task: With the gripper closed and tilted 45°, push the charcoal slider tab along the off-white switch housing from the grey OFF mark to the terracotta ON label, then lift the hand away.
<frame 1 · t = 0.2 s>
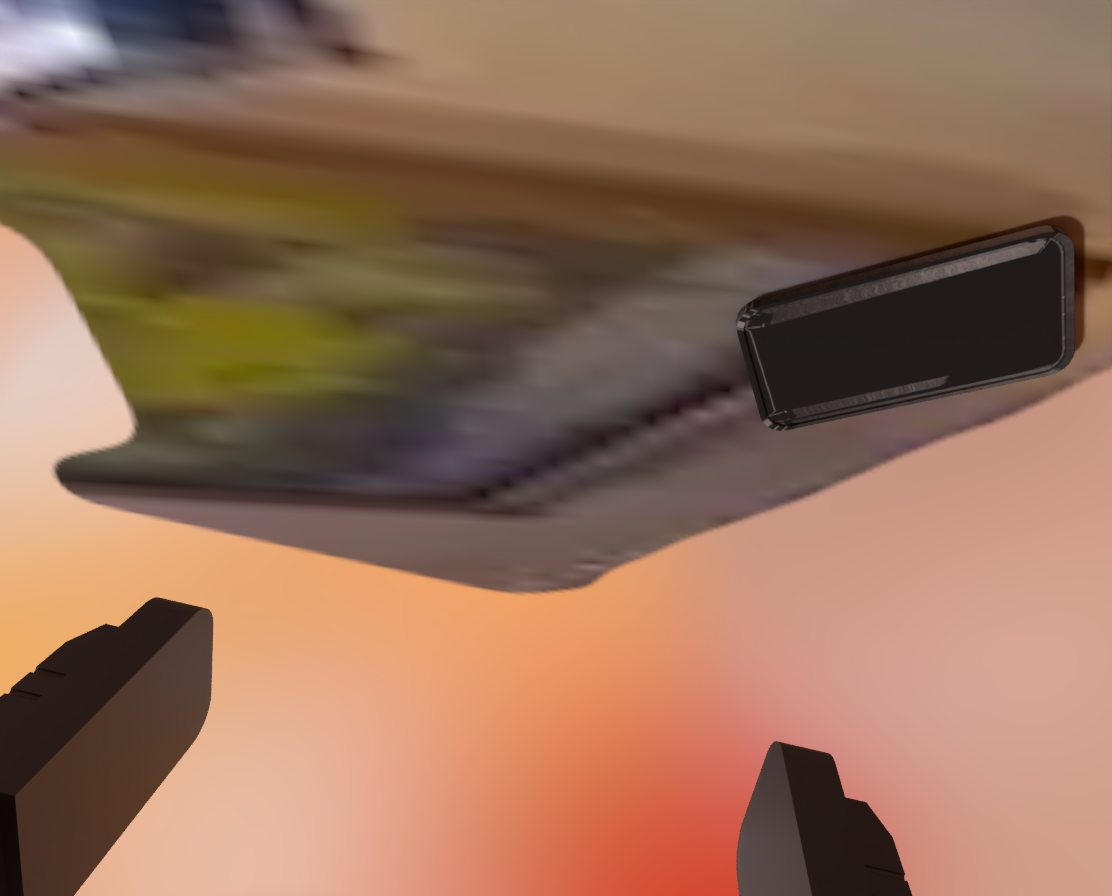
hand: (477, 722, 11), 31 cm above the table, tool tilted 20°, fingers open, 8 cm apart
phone: (897, 329, 41), on the table
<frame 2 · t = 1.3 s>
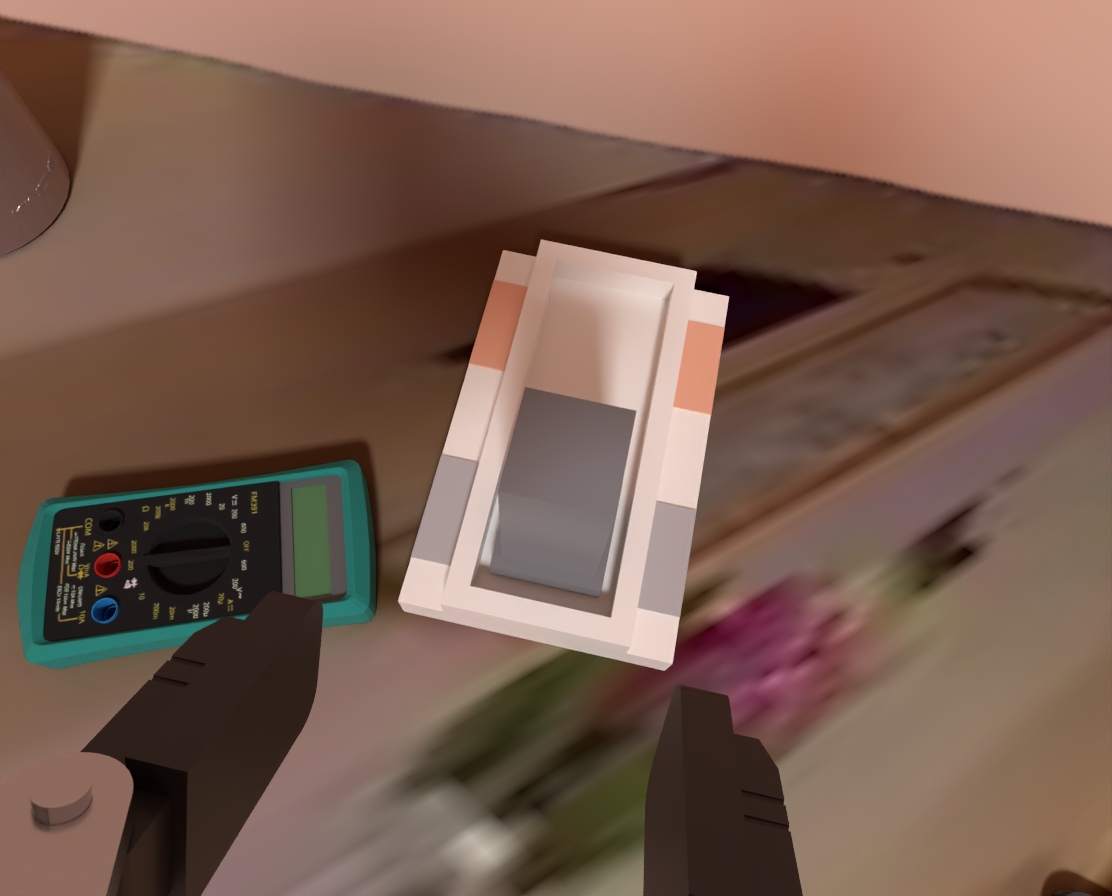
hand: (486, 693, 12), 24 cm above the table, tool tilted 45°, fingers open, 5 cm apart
switch housing: (575, 451, 40), on the table
slider tab: (562, 496, 32), point 7 cm above the table, slide at 0.0 cm
digital multimeter: (220, 569, 38), on the table
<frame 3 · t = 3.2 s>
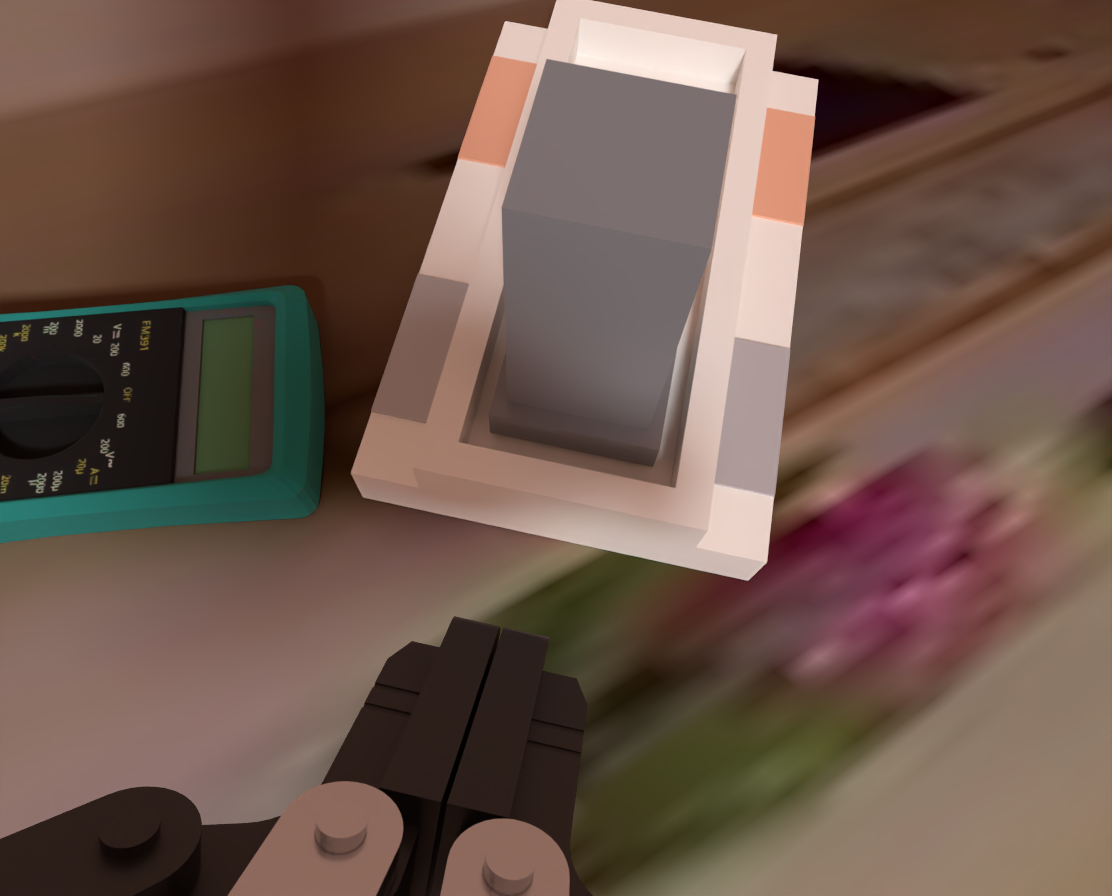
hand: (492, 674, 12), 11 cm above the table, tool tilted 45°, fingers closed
switch housing: (609, 285, 28), on the table
slider tab: (602, 285, 20), point 7 cm above the table, slide at 0.0 cm
digital multimeter: (100, 440, 26), on the table
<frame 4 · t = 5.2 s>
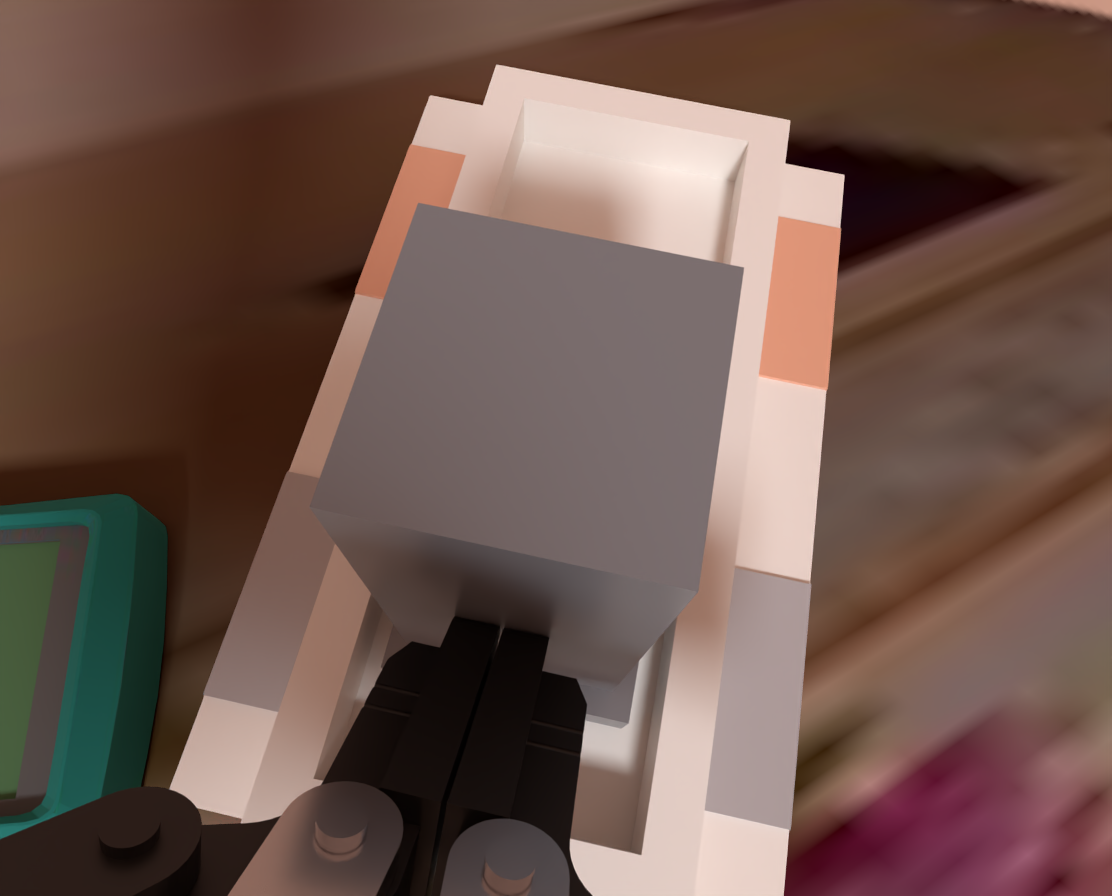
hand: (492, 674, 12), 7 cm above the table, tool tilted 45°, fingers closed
switch housing: (563, 462, 21), on the table
slider tab: (536, 513, 13), point 7 cm above the table, slide at 1.1 cm, touching gripper
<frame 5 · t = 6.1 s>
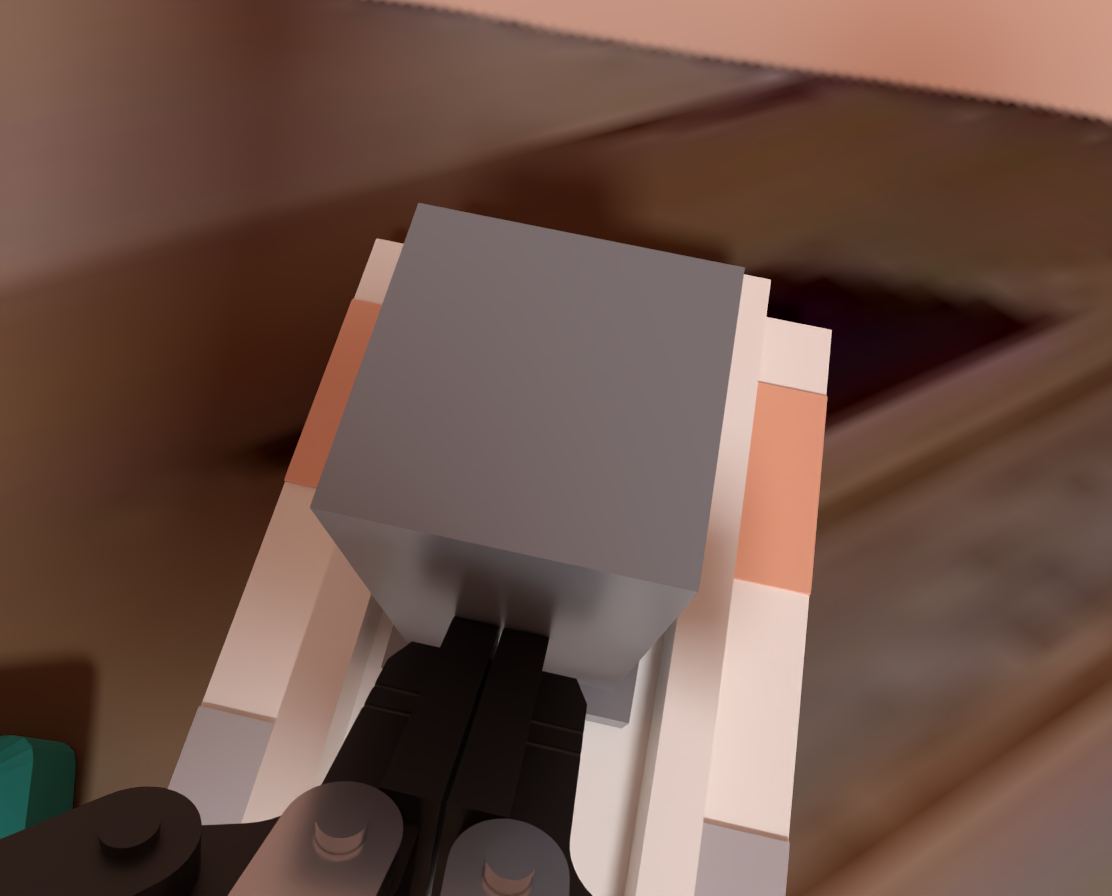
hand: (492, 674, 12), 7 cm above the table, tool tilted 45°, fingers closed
switch housing: (518, 663, 19), on the table
slider tab: (536, 513, 13), point 7 cm above the table, slide at 6.4 cm, touching gripper
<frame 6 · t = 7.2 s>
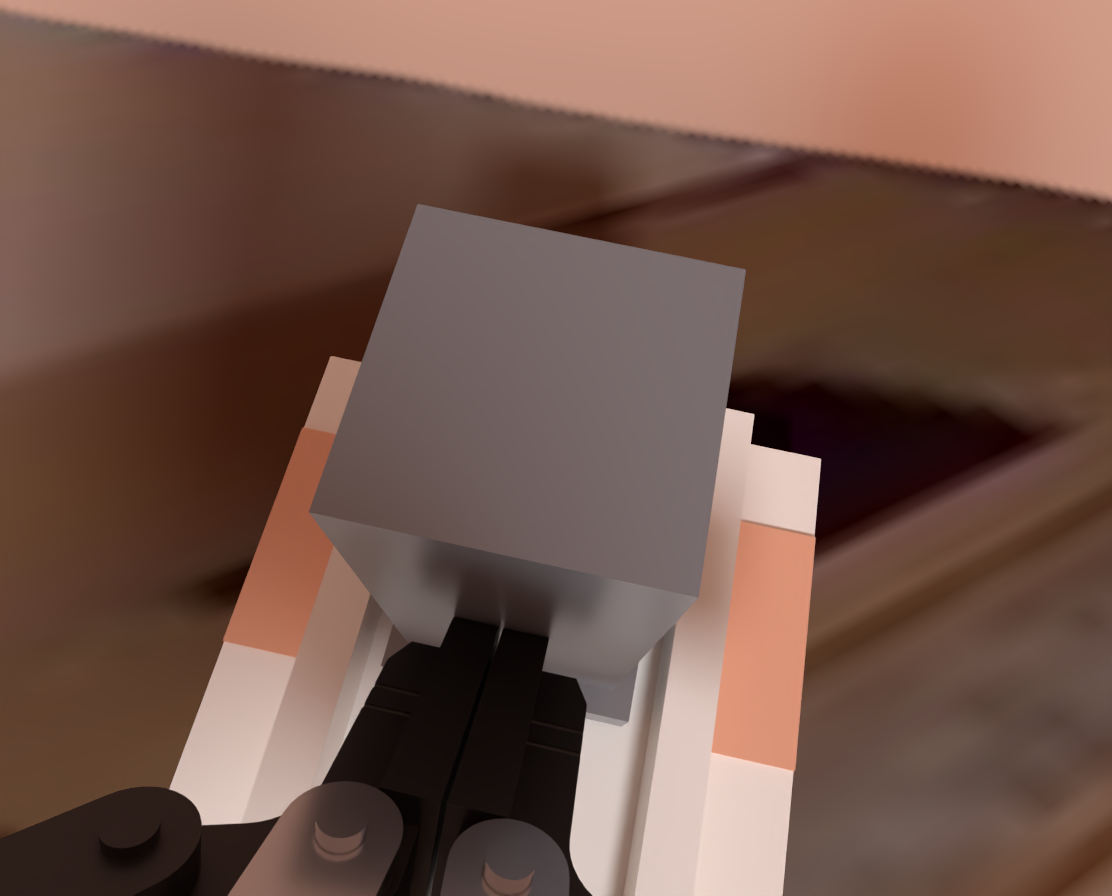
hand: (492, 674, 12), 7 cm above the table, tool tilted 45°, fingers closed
switch housing: (478, 832, 17), on the table
slider tab: (536, 513, 13), point 7 cm above the table, slide at 10.1 cm, touching gripper
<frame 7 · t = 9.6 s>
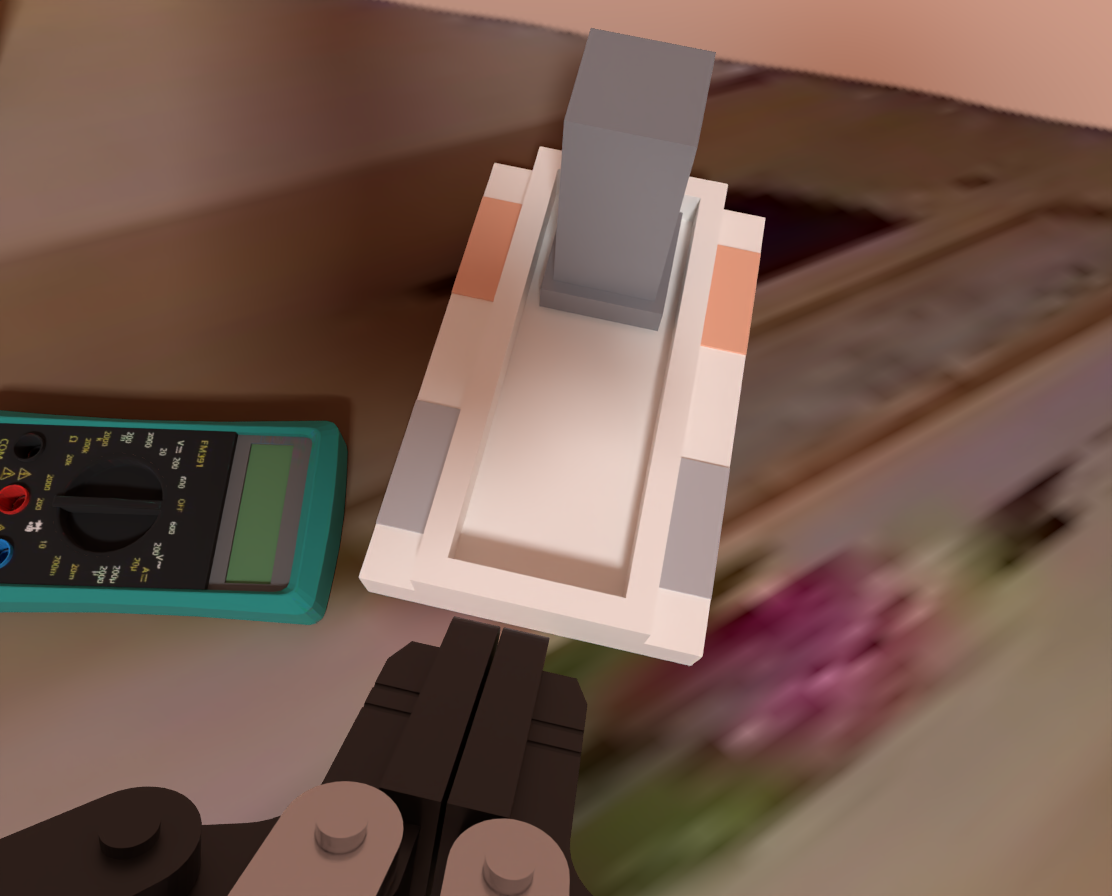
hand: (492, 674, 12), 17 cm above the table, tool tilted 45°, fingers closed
switch housing: (581, 400, 33), on the table
slider tab: (623, 190, 29), point 7 cm above the table, slide at 10.1 cm
digital multimeter: (154, 527, 31), on the table
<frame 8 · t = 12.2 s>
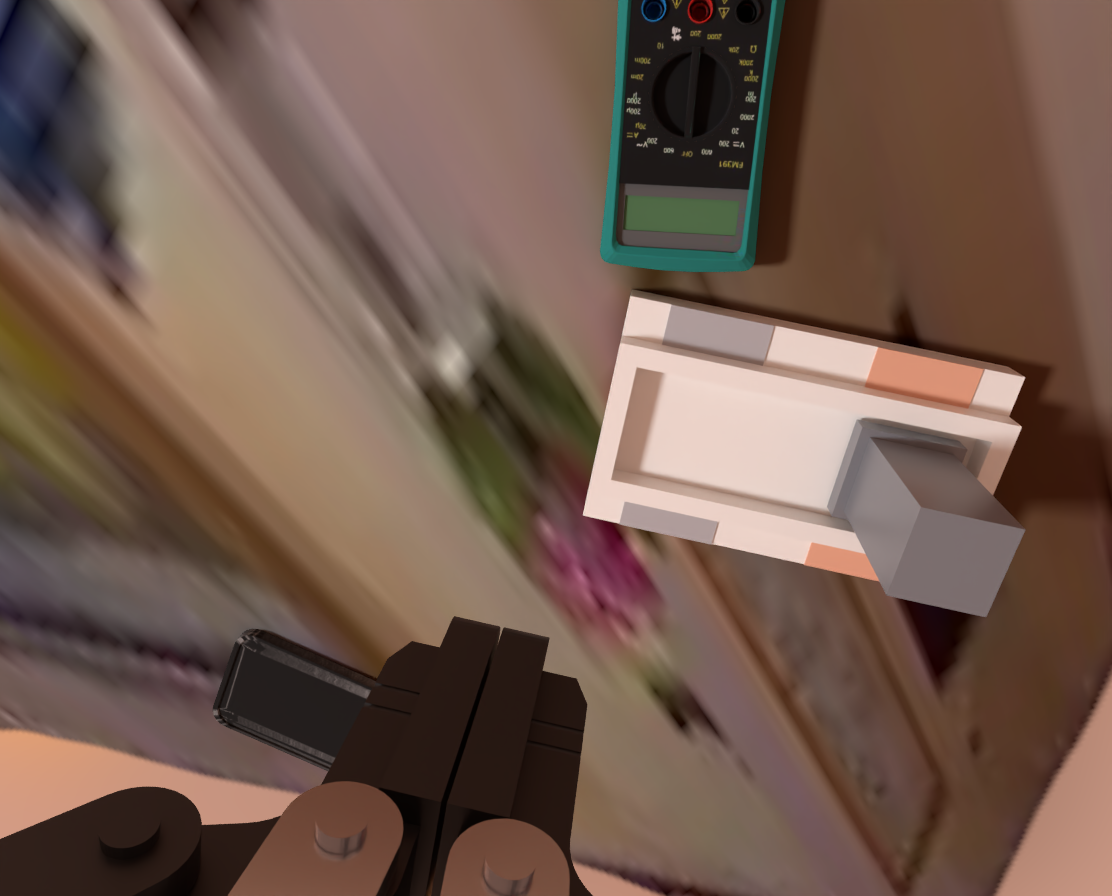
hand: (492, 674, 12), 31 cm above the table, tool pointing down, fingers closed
switch housing: (784, 437, 43), on the table
slider tab: (918, 513, 36), point 7 cm above the table, slide at 10.1 cm
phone: (338, 710, 53), on the table
digital multimeter: (689, 108, 38), on the table
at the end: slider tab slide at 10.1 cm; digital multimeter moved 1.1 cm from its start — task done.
